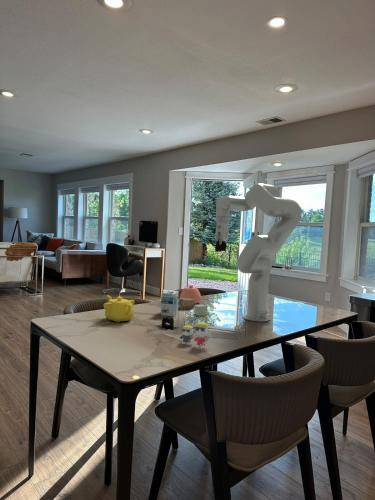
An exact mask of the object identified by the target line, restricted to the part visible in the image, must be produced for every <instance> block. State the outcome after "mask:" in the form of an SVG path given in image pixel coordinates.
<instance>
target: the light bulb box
mask: <svg viewBox="0 0 375 500" xmlns="http://www.w3.org/2000/svg"><path fill="white" fill-rule="evenodd" d="M179 292H180V291H179V290H173V289H172V290H170V289H166V290H164V291H163V292H161V301H160V316H164V317H166V316H167V317H175V315H177V314H178V312H179V298H180V293H179Z"/></svg>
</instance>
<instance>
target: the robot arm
mask: <svg viewBox="0 0 375 500" xmlns="http://www.w3.org/2000/svg"><path fill="white" fill-rule="evenodd" d="M215 205H216V206H215V223H216V226H215V235H214V236H215V237H214V238H215V244H214V246H215V247H214V252H216V253H220V252H227V244H228V241H229V231H230V230H229V224H230V216H231V214H230V213H231V211H234V212H247V211H251V210H254V209H255V208H256V207H257V208H258V209H259V210H260V212H262V213H264V215H266V216H268V217H272V218H280V219H279V220H278V221H277V222H275V223H274V224H272V226H271V229H270V230H269V231H268V232H267V233H266V234H259V235H258V234H257V235H253V236H252V237H250V238H249V240H248V241H247V243H246V244H245V246H244V247H243V248H242V251H241V252H240V253H239V256H238V258H237V262H236V267H237V270H239V272H241V273H243V274H250V276H249V279H248V286H247V299H246V300H247V303H246V304H247V305H246V313H244V314H243V316H242V317H243V319H245V320H248V321H251V322H269V321H270V320H271V317H272V315H271V314H269V310H268V302H269V301H268V300H269V299H268V298H269V285H270V283H269V282H270V275H271V270H272V267H273V260H272V258H271V257H273V256H276V255H277V254H278V253H279V251H280V250H281V248H282V247H283V246H284V245H285V243H286V242H287V240H288V238H289V237H290V235H291V234H292V233H293V231H294V230H295V229H296V228H297V226H298V225H299V224H300V221H301V217H302V210H301V206H300V205H299V203H298V202H297V201H295V200H293V199H290V198H284V197H283V198H282V197H280V190H279V188H278V187H276V186H275V185H272V184H265V183H260V182H259V183H255V184H253V185H252V186H251V187H250V188H249V190H248V191H247V192H246V194H245V196H243V197H242V196H238V195H237V196H236V195H235V196H234V195H225V196H218V197H216V204H215Z"/></svg>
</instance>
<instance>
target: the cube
mask: <svg viewBox="0 0 375 500" xmlns="http://www.w3.org/2000/svg"><path fill="white" fill-rule="evenodd" d="M207 311H208V306H207V305H205V304H195V305H194V309H193V314H194V315H196V316H199V317H200V316H207V314H208V312H207Z"/></svg>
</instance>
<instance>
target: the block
mask: <svg viewBox="0 0 375 500" xmlns="http://www.w3.org/2000/svg"><path fill="white" fill-rule="evenodd" d="M194 306H195V305H194V299H191V298H180V297H178V309H181V310H185V311H186V310H194Z"/></svg>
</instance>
